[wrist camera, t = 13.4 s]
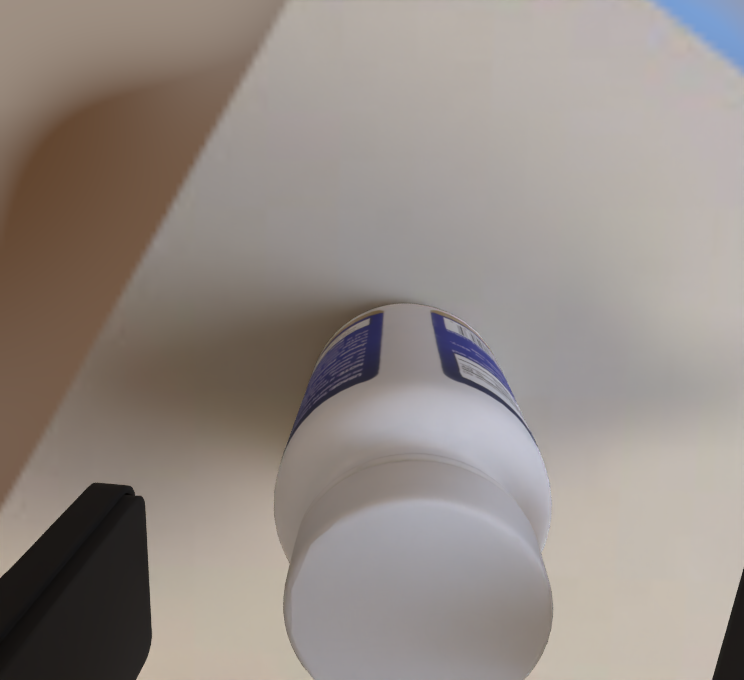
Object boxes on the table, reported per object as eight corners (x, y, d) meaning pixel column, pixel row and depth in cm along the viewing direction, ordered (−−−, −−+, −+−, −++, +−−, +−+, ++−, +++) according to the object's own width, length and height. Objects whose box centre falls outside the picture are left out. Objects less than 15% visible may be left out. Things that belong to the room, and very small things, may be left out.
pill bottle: (322, 478, 18) (256, 759, 10) (303, 306, 17) (205, 465, 8) (504, 470, 18) (594, 753, 10) (501, 294, 17) (606, 447, 8)
